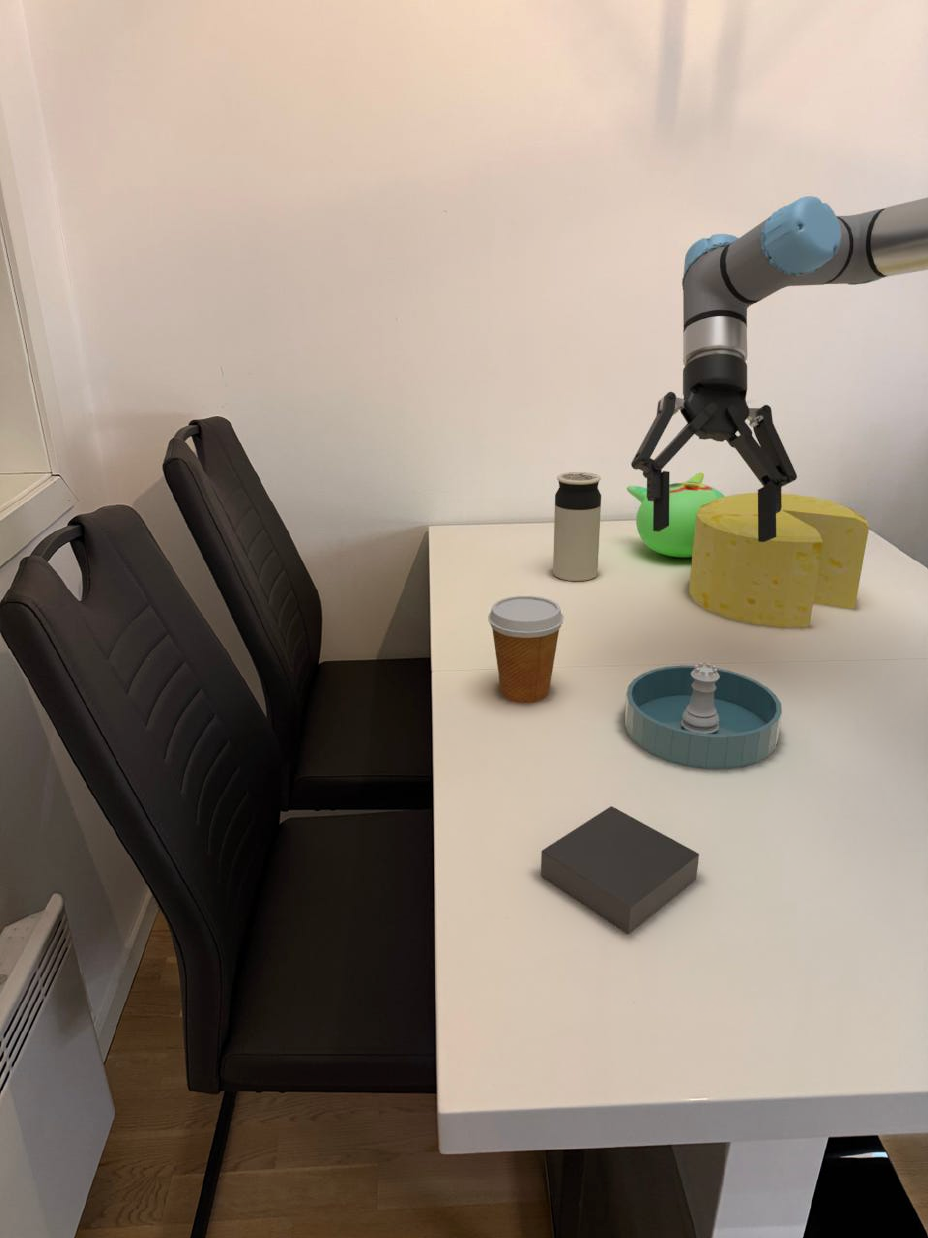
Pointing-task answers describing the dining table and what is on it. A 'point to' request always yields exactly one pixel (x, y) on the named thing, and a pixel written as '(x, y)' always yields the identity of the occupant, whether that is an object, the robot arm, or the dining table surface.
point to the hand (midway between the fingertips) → (714, 534)
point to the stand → (619, 868)
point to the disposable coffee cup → (525, 645)
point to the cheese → (776, 559)
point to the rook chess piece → (702, 701)
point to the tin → (735, 744)
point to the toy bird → (674, 516)
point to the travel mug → (577, 526)
